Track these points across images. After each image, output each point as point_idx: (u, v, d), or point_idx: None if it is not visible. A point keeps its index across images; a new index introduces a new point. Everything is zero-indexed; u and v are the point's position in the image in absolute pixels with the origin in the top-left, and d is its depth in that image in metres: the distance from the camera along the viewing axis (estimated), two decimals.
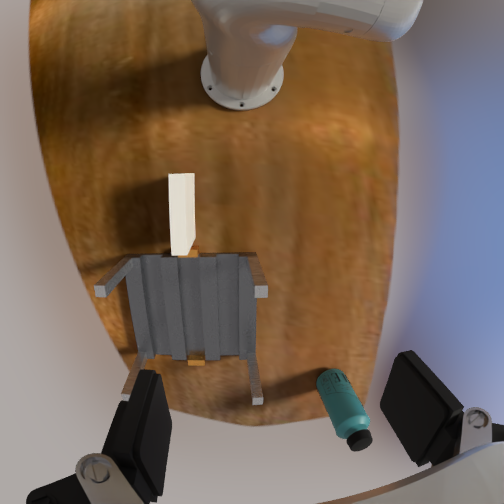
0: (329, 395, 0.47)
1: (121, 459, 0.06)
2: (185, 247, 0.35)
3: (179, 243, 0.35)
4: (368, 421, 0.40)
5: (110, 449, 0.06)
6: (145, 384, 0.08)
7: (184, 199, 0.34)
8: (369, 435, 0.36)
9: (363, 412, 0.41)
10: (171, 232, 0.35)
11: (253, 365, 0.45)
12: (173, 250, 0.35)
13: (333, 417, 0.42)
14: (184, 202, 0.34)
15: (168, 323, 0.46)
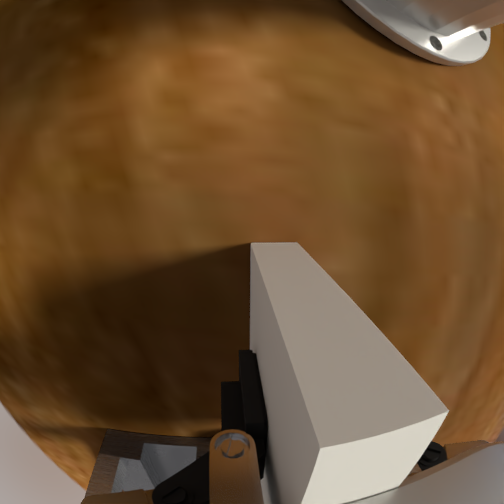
0: None
1: (251, 431, 0.07)
2: None
3: None
4: None
5: (229, 426, 0.08)
6: (250, 362, 0.10)
7: None
8: None
9: None
10: None
11: None
12: None
13: None
14: None
15: None
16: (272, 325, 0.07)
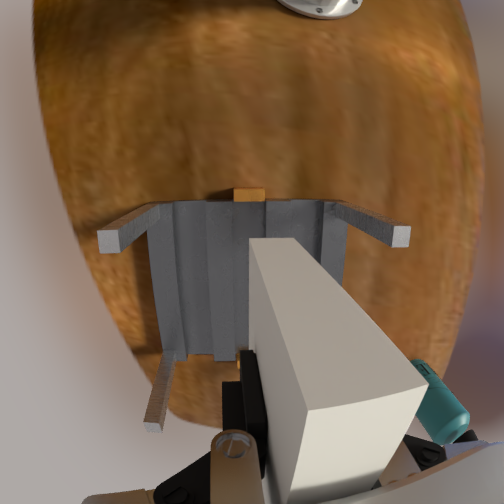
0: None
1: (252, 430, 0.07)
2: None
3: None
4: (469, 419, 0.25)
5: (230, 426, 0.08)
6: (251, 362, 0.10)
7: (370, 482, 0.04)
8: (476, 436, 0.22)
9: (464, 409, 0.26)
10: None
11: None
12: None
13: (430, 420, 0.28)
14: (366, 490, 0.04)
15: (212, 307, 0.32)
16: (268, 311, 0.07)
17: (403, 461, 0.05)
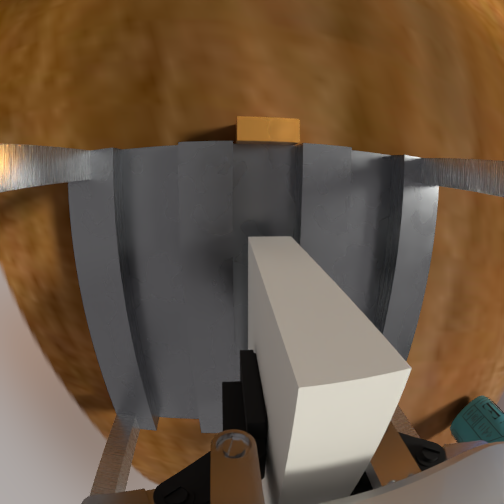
0: None
1: (252, 430, 0.07)
2: None
3: None
4: None
5: (230, 426, 0.08)
6: (251, 362, 0.10)
7: (362, 466, 0.05)
8: None
9: None
10: None
11: (406, 431, 0.15)
12: None
13: None
14: (358, 474, 0.05)
15: (193, 352, 0.16)
16: (265, 303, 0.08)
17: (403, 461, 0.05)
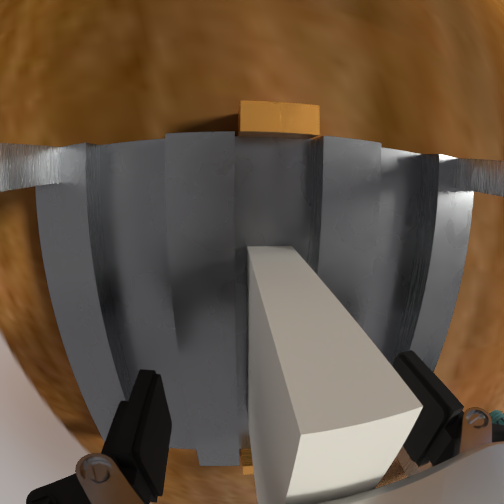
0: None
1: (121, 459, 0.06)
2: None
3: None
4: None
5: (110, 449, 0.06)
6: (145, 384, 0.08)
7: None
8: None
9: None
10: None
11: None
12: None
13: None
14: None
15: (188, 387, 0.13)
16: (264, 325, 0.07)
17: None
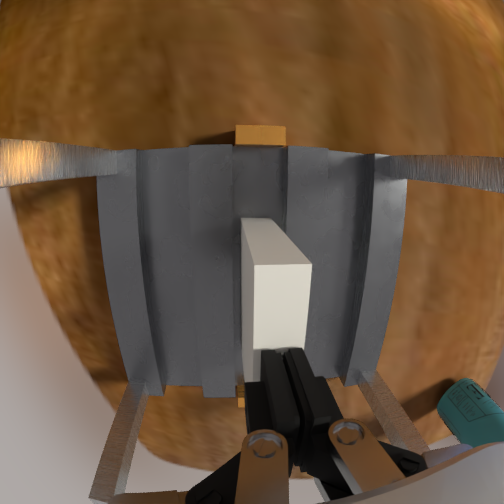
0: (473, 422, 0.20)
1: (281, 430, 0.07)
2: None
3: None
4: None
5: (258, 426, 0.08)
6: (274, 361, 0.10)
7: (301, 339, 0.11)
8: None
9: None
10: None
11: (387, 397, 0.19)
12: None
13: None
14: (301, 347, 0.11)
15: (198, 319, 0.20)
16: (246, 248, 0.14)
17: (377, 472, 0.05)
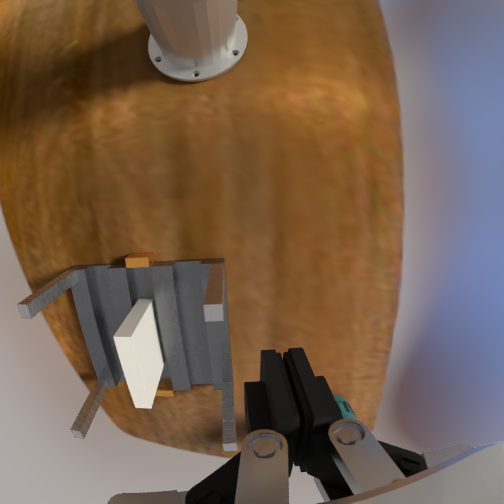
0: None
1: (281, 430, 0.07)
2: (147, 402, 0.28)
3: (141, 399, 0.28)
4: None
5: (258, 426, 0.08)
6: (274, 361, 0.10)
7: (136, 362, 0.27)
8: None
9: None
10: (130, 389, 0.28)
11: (228, 399, 0.35)
12: (136, 404, 0.28)
13: None
14: (137, 364, 0.27)
15: None
16: None
17: (377, 472, 0.05)
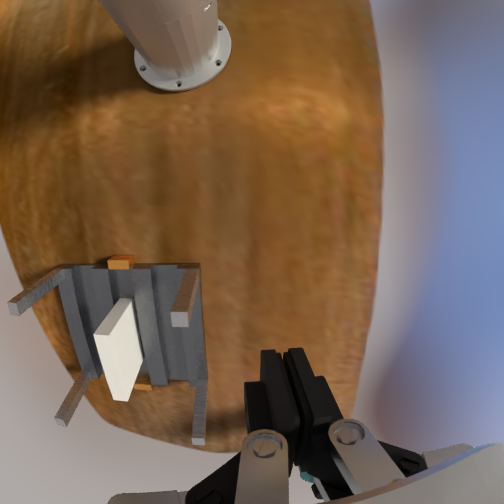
0: None
1: (282, 430, 0.07)
2: (124, 395, 0.30)
3: (118, 392, 0.30)
4: None
5: (258, 426, 0.08)
6: (274, 362, 0.10)
7: (113, 358, 0.29)
8: None
9: None
10: (108, 383, 0.29)
11: (201, 396, 0.36)
12: (114, 396, 0.30)
13: None
14: (114, 361, 0.29)
15: None
16: None
17: (377, 472, 0.05)
